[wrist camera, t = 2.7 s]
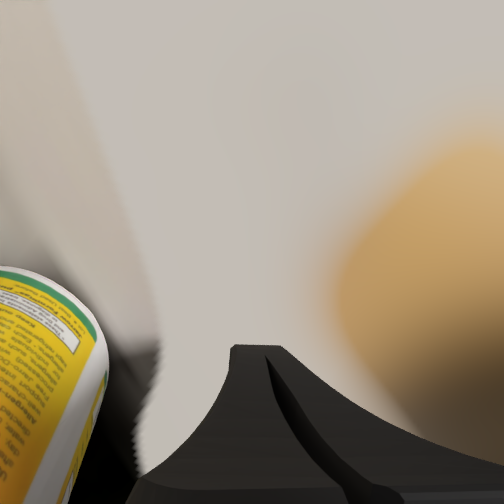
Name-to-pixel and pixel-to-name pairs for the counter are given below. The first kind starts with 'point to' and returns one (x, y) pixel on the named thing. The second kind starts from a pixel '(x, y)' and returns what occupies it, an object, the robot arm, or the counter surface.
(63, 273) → the counter surface
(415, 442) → the robot arm
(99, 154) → the counter surface
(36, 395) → the supplement bottle
